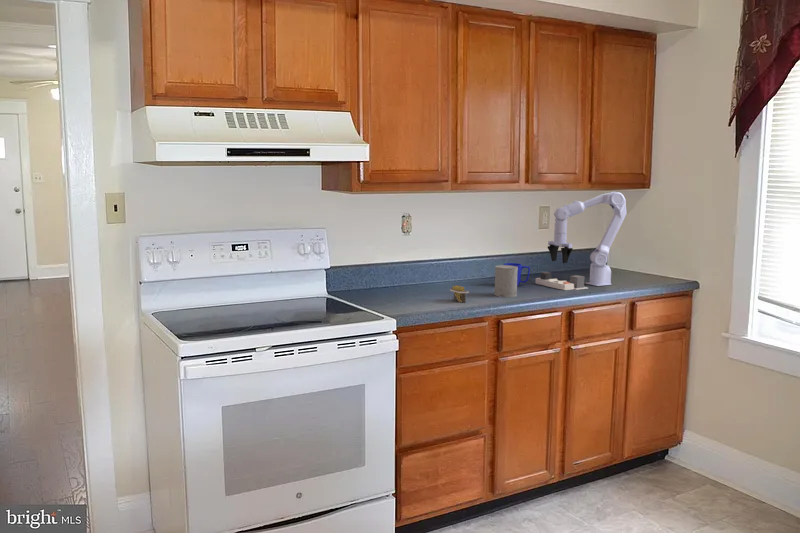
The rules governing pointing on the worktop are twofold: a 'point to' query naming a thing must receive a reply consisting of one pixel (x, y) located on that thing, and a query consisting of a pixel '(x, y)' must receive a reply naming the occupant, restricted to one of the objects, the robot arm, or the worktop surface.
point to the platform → (459, 293)
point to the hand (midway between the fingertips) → (559, 261)
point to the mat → (580, 288)
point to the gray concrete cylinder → (506, 280)
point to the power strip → (553, 282)
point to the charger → (577, 281)
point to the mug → (519, 271)
